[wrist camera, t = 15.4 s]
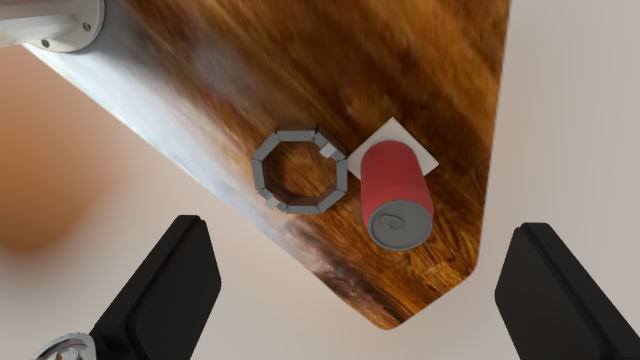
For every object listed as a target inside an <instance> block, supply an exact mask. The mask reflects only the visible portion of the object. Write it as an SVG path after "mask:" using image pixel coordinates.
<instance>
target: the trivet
mask: <svg viewBox="0 0 640 360" xmlns="http://www.w3.org/2000/svg"><path fill="white" fill-rule="evenodd" d="M387 140H392V141H399V142H402V143H404V144H406V145H408V146H409V147H410V148H411V149H413V151H414V153H415V154H416V156H417V159H418V162H419V164H420V167H421V170H422V173H423V176H425V175H426V174H427V173H429V172H430V171H431V170H433V169H434V168H435V167H437V166H438V165H439V163H438V161H437V160H436V159H435V158H434V157H433V156H432V155H431V154H430V153H429V152H428V151H427V150H426V149H425V148H424V147H423V146H422V145H421V144H420V143H419V142H418V141H417V140H416V139H415V138H414V137H413V136H412V135H411V134H410V133H409V132H408V131H407V130H406V129H405V128H404V127H403V126H402V125H401V124H400V123H399V122H398V121H397V120H396V119H395V118H394V117H392V118H391V119H389V120H388V121H387V122H386V123H385V124H384V125H383V126H382V127H380V128H379V129H378V130H377V131H376V132H375V133H374V134H373V135H371V136H370V137H369V138H368V139H367V140H366V141H365V142H364V143H362V144H361V145H360V146H359V147H358V148H357V149H356V150H355V151H354V152H352V153H351V154H350V155H349V156H348V157H347V169H348V170H349V171H350V172H351V173H353V174H354V175H355V176H356V177H357V178H358V179H359V180H361V173H360V167H361V160H362V158H363V156H364V154H365V152H366V151H367V150H368V149H369V148H370V147H371V146H373V145H375V144H377V143H379V142H382V141H387Z"/></svg>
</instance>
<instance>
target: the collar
mask: <svg viewBox="0 0 640 360" xmlns="http://www.w3.org/2000/svg"><path fill="white" fill-rule="evenodd" d="M280 141H313V142H315V143H316V144H317V145H318V146H319V147H320V148H321V149H320V150H319V152H320V153H321V154H322V155H323V156H324V157H325V158H329V157H332V158H333V159H334V160H335V161H336V163H337V181H336V182H335V183H333V184H332V185H331V186H330V187H329V188H328V189H326V190H325V191H324V192H323V193H322V194H321V195H320V196H318V197H310V196H290V195H288V194H287V193H286V192H285V191H283V190H282V189H281V188H280V187H278V186H277V185H276V184H275V183H273V182H272V181H271V180H270V179H269V176H268V168H267V161H266V156H267V155H268V154H269V153H270V152H271V151H272V150H273V148H274V147H275V146H276V145H277V144H278V143H279V142H280ZM251 164H252V170H253V176H254V182H255V189H256V190H258V192H257V193H259V194H260V195H261V196H263V197H264V198H265V199H267V200H266V201H265V205H267V206H268V207H269V208H271V209H273V208H274V207H275V206H276V207H277V208H278V209H279V210H281V211H282V212H284V211H286V214H319V212H321V213H323V212H324V211H325V210H327V209H328V208H329V207H330V206H331V205H333V204H334V203H335V202H336V201H338V200H339V199H340V198H341V197H342V196H344V195H345V194H346V191H347V151H346V148H345V147H344V146H343V145H342V144H341V143H340V142H338V141H337V140H336V139H335V138H334V137H333V136H332V135H331V134H330V133H329V132H327V131H326V130H325V129H324V128H323V127H322V126H321V125H320V126H319V127H318V128H317V124H280V126H278V125H277V127H276V128H275V129H274V130H273V131H272V132H271V133H270V134H269V135H268V136H267V137H266V138H265V140H264V141H263V142H262V143H261V144H260V145H259V146H258V147H257V148H256V150H255V151H254V153H253V155H252V158H251Z"/></svg>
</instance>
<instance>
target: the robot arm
mask: <svg viewBox="0 0 640 360" xmlns="http://www.w3.org/2000/svg"><path fill="white" fill-rule="evenodd" d="M104 9H105V5H104V0H0V48H1V47H6V46H11V45H17V44H23V43H29V44H31V45H33V46H35V47H37V48H40V49H43V50H47V51H50V52H59V53H63V52H71V51H75V50H79V49H82V48H84V47H85V46H87V45H89V44H90V43H91V42H92V41H93V40H94V39H95V38H96V37H97V35H98V33H99V31H100V30H101V27H102V23H103V20H104ZM220 289H221V277H220V274H219V270H218V266H217V262H216V259H215V255H214V251H213V247H212V243H211V240H210V236H209V232H208V229H207V225H206V222H205V221H204V220H201V218H200V217H199V216H197V215H179V216H178V217H177V218H176V219H175V220H174V222H173V223H172V224H171V226H170V227H169V228H168V230H167V231H166V232H165V234H164V235H163V236H162V237H161V239H160V240H159V241H158V243H157V244H156V245H155V247H154V248H153V249H152V251H151V252H150V253H149V254H148V256H147V257H146V259H145V260H144V261H143V262H142V264H141V265H140V266H139V268H138V269H137V270H136V271H135V273H134V274H133V275H132V277H131V278H130V279H129V281H128V282H127V283H126V285H125V286H124V287H123V288H122V290H121V291H120V292H119V294H118V295H117V296H116V298H115V299H114V300H113V302H112V303H111V304H110V306H109V307H108V308H107V309H106V311H105V312H104V313H103V315H102V316H101V317H100V319H99V320H98V321H97V323H96V324H95V325H94V328H93V329H92V330H91V332H90V333H89V334H86V333H80V332H78V333H71V334H67V335H64V336H61V337H59V338H57V339H55V340H53V341H51V342H49V343H48V344H46V345H45V346H44V347H42V348H41V349H40V350H38V351H37V352H36V353H35V354H34V355H33V356H32V357H31V358H30V359H29V360H190V358H191V356H192V354H193V351H194V349H195V347H196V345H197V342H198V340H199V338H200V335H201V333H202V331H203V328H204V326H205V324H206V322H207V319H208V317H209V315H210V313H211V311H212V308H213V306H214V304H215V302H216V299H217V297H218V294H219V292H220ZM495 302H496V305H497V307H498V309H499V312H500V314H501V316H502V319H503V321H504V323H505V325H506V328H507V330H508V332H509V335H510V337H511V339H512V341H513V343H514V346H515V348H516V350H517V353H518V355H519V357H520V359H521V360H640V337H639V336H638V335H637V334H636V332H635V331H634V330H633V329H632V327H631V326H630V325H629V324H628V322H627V321H626V320H625V319H624V317H623V316H622V315H621V314H620V312H619V311H618V310H617V309H616V307H615V306H614V305H613V304H612V302H611V301H610V300H609V299H608V297H607V296H606V295H605V294H604V292H603V291H602V290H601V289H600V287H599V286H598V285H597V284H596V283H595V281H594V280H593V279H592V278H591V276H590V275H589V274H588V272H587V271H586V270H585V269H584V267H583V266H582V265H581V264H580V262H579V261H578V260H577V259H576V258H575V256H574V255H573V254H572V252H571V251H570V250H569V249H568V248H567V246H566V245H565V244H564V242H563V241H562V240H561V239H560V237H559V236H558V235H557V234H556V232H555V231H554V230H553V229H552V227H551V226H550V225H549V224H547V223H523V224H522V225H521V227H517V228H516V229H515V230H514V233H513V236H512V239H511V242H510V245H509V249H508V252H507V255H506V258H505V262H504V264H503V268H502V271H501V274H500V277H499V280H498V283H497V286H496V289H495Z"/></svg>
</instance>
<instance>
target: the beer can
mask: <svg viewBox="0 0 640 360" xmlns="http://www.w3.org/2000/svg"><path fill="white" fill-rule="evenodd" d="M360 173H361V213H362V217H363V221H364V224H365V226H366V228H367V229H368V231H369V235H370V237H371V238H372V239H373V241H374V242H375V243H377V244H378V245H379V246H381V247H383V248H386V249H389V250H396V251H402V250H409V249H412V248H414V247H417V246H419V245H420V244H422V243H423V242H424V241H425V240H426V239H427V238H428V236H429V235H430V234H431V230H432V226H433V224H432V220H433V216H434V208H433V202H432V199H431V196H430V193H429V190H428V187H427V184H426V181H425V179H424V176H423V173H422V170H421V167H420V164H419V162H418V159H417V156H416V154H415V153H414V151H413V149H411V148H410V147H409V146H408V145H406V144H404V143H402V142H399V141H392V140H387V141H382V142H379V143H377V144H375V145H373V146H371V147H370V148H369V149H368V150H367V151H366V152H365V154H364V156H363V158H362V160H361V167H360Z"/></svg>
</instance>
